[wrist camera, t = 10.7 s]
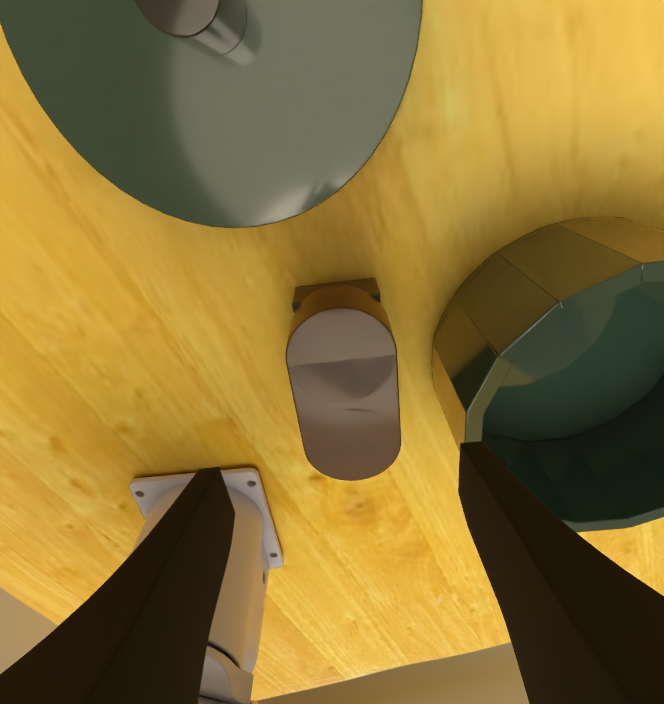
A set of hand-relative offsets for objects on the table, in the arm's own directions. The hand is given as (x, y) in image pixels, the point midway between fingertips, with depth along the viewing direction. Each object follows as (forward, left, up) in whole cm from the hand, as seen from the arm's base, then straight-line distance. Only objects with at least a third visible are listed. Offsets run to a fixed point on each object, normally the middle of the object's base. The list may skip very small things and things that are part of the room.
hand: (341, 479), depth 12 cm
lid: (+13, +3, -9) cm, 16 cm away
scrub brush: (-1, 0, -10) cm, 10 cm away
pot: (-2, -11, -10) cm, 15 cm away
